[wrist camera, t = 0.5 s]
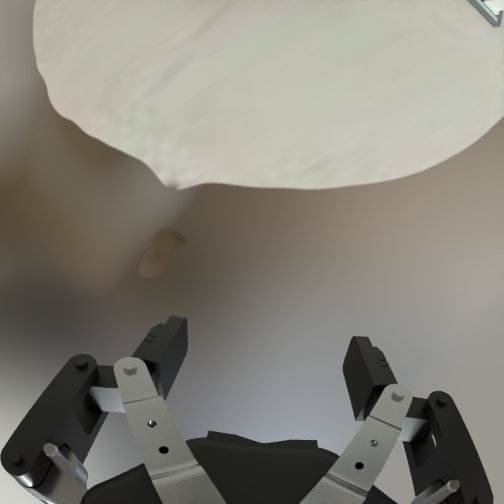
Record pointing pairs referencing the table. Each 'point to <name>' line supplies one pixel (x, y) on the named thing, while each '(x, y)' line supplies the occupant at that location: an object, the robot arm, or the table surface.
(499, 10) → the board
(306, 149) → the table surface
